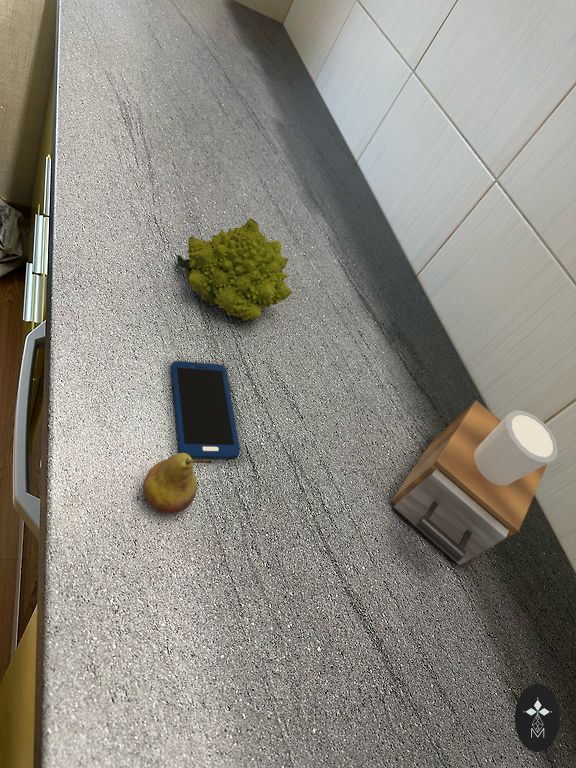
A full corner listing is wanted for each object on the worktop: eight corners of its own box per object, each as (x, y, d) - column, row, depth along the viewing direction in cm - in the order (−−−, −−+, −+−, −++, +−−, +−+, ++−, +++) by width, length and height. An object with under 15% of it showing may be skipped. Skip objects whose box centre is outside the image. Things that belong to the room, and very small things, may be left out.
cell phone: (179, 458, 66) (180, 455, 65) (169, 363, 74) (171, 359, 73) (239, 459, 69) (241, 456, 68) (224, 367, 77) (225, 364, 76)
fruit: (186, 473, 65) (215, 416, 57) (192, 520, 62) (224, 468, 53) (136, 474, 63) (159, 415, 54) (140, 523, 60) (164, 469, 51)
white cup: (459, 443, 69) (496, 411, 64) (499, 438, 72) (537, 407, 67) (487, 494, 66) (527, 465, 61) (527, 487, 69) (569, 459, 64)
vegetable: (149, 240, 80) (233, 182, 74) (215, 275, 94) (291, 227, 88) (174, 332, 75) (265, 278, 70) (240, 355, 89) (321, 311, 83)
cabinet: (462, 564, 72) (519, 531, 64) (390, 501, 74) (436, 460, 66) (496, 496, 81) (549, 460, 74) (431, 441, 83) (476, 400, 75)
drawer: (446, 591, 68) (494, 565, 61) (378, 530, 69) (416, 498, 63) (491, 501, 79) (535, 471, 73) (431, 450, 81) (469, 416, 74)
